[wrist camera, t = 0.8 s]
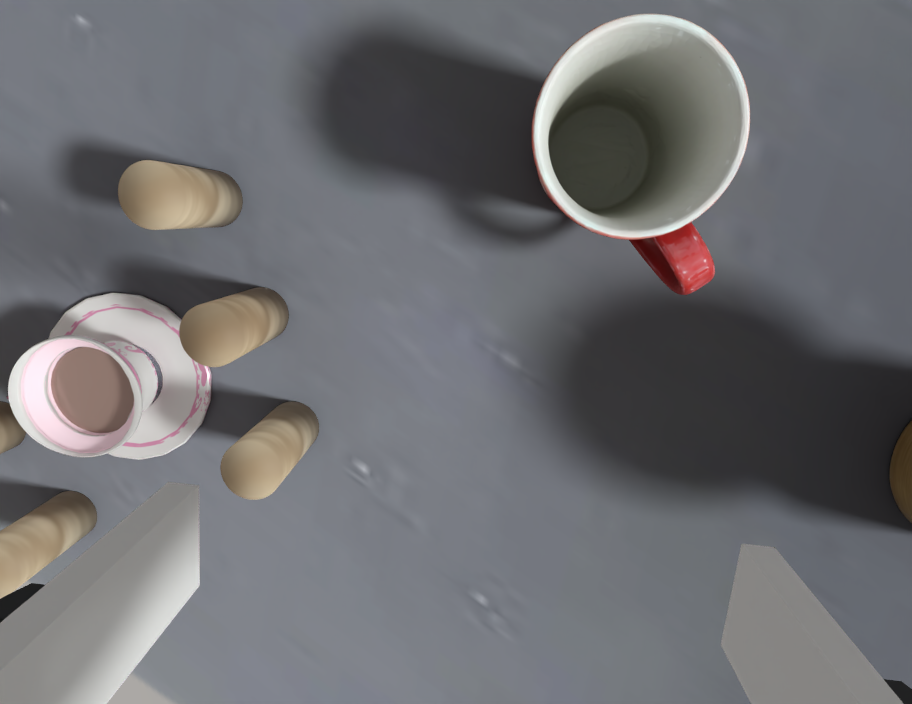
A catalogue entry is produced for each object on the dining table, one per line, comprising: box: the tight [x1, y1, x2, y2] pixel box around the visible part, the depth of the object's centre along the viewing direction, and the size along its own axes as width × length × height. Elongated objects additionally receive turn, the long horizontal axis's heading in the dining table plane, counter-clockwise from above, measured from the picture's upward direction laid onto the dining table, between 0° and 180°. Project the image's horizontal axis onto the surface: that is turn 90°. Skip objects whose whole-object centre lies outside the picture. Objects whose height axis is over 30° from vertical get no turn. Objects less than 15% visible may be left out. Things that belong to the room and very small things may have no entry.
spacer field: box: [0, 160, 319, 598], centre depth 41 cm, size 20×27×8 cm
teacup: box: [7, 292, 211, 460], centre depth 42 cm, size 12×12×6 cm
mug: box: [532, 14, 750, 295], centre depth 33 cm, size 13×9×14 cm
